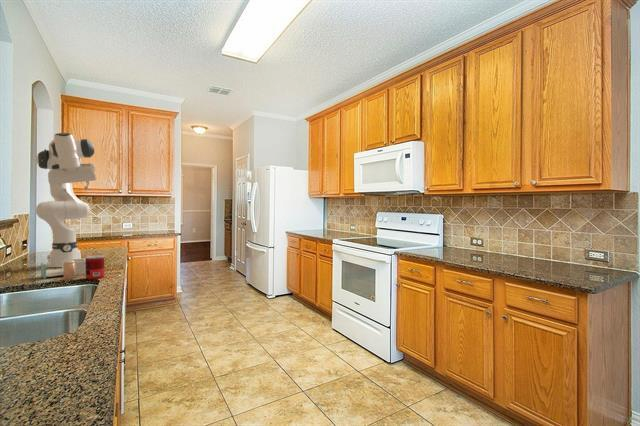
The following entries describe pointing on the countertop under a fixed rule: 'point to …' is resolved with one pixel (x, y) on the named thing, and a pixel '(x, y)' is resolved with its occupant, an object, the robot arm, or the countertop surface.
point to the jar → (69, 270)
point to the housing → (78, 265)
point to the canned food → (95, 267)
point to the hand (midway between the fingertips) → (75, 191)
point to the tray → (50, 271)
